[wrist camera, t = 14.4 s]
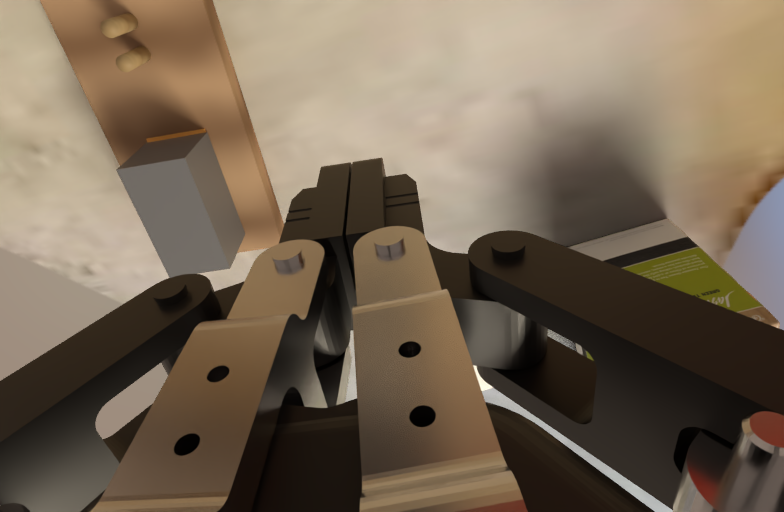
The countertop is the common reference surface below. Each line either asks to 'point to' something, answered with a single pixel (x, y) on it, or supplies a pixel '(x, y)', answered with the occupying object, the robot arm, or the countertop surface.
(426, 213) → the countertop surface
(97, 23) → the board
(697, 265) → the tea box
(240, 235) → the block
